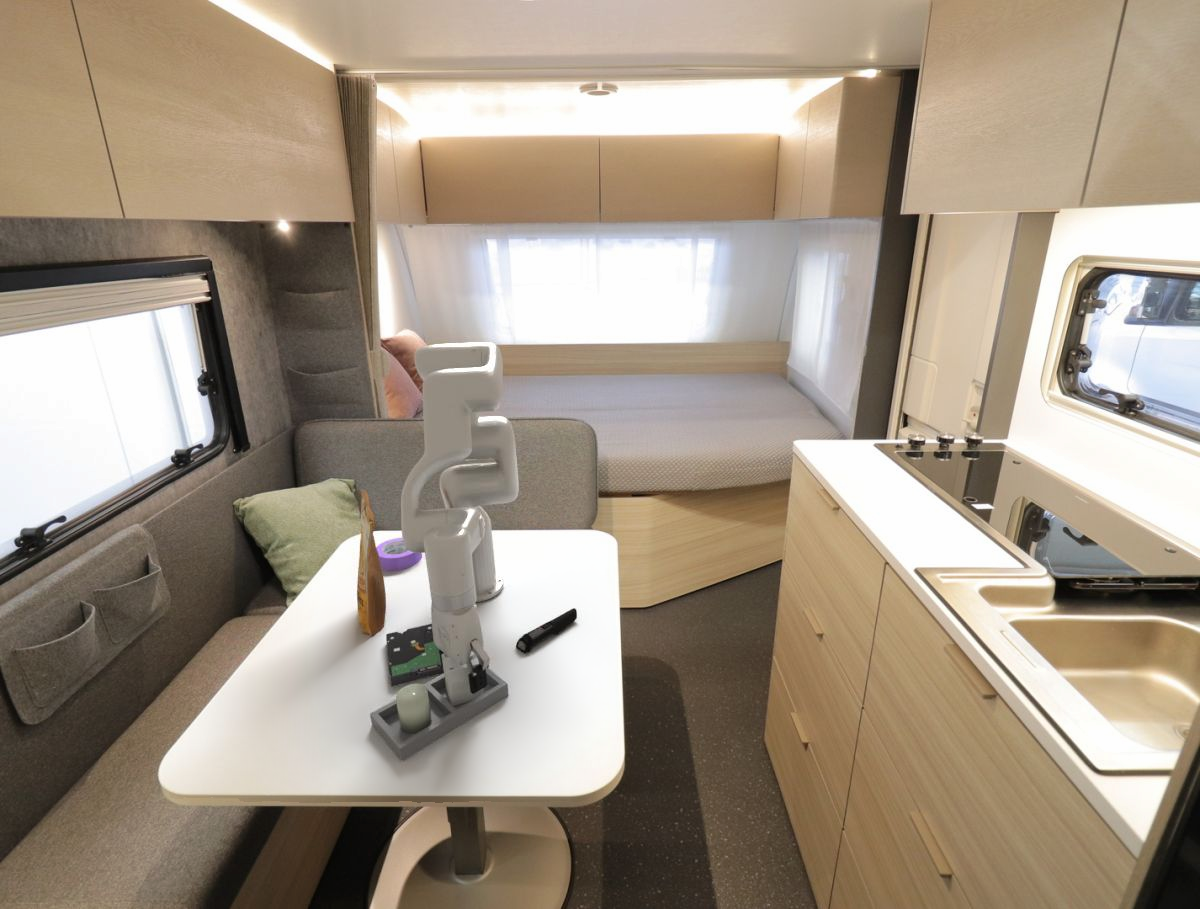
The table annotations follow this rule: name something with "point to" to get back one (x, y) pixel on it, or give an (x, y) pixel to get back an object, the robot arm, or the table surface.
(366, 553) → the pancake mix bag
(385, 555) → the masking tape
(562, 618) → the electric trimmer
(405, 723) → the sage jar
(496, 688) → the caddy
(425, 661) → the disk drive
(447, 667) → the white box
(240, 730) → the table surface
